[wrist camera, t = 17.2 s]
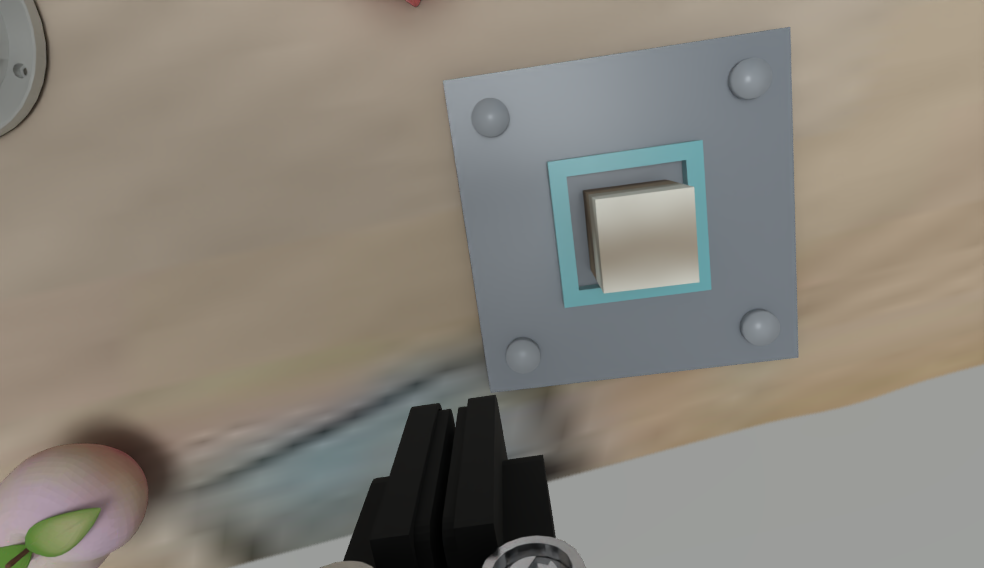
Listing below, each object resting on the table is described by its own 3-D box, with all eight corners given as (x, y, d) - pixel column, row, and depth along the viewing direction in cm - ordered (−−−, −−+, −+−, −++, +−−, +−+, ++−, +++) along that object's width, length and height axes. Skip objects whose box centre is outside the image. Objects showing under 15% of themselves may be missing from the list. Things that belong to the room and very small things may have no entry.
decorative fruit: (116, 389, 42) (-6, 465, 32) (201, 469, 43) (109, 565, 33) (35, 466, 44) (-103, 560, 34) (119, 541, 45) (9, 652, 35)
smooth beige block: (582, 190, 36) (595, 199, 30) (665, 179, 36) (694, 186, 30) (590, 269, 37) (603, 293, 31) (670, 259, 37) (699, 282, 31)
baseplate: (444, 82, 36) (440, 79, 34) (782, 30, 34) (798, 23, 33) (491, 386, 40) (490, 399, 39) (791, 351, 39) (805, 363, 37)
